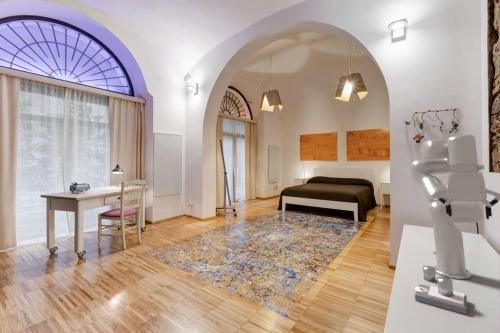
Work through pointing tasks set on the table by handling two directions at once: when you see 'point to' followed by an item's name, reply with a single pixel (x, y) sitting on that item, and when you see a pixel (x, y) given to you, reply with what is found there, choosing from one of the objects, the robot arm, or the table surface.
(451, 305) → the scale
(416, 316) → the table surface
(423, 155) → the robot arm
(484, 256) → the table surface
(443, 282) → the cylinder
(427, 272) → the cylinder
